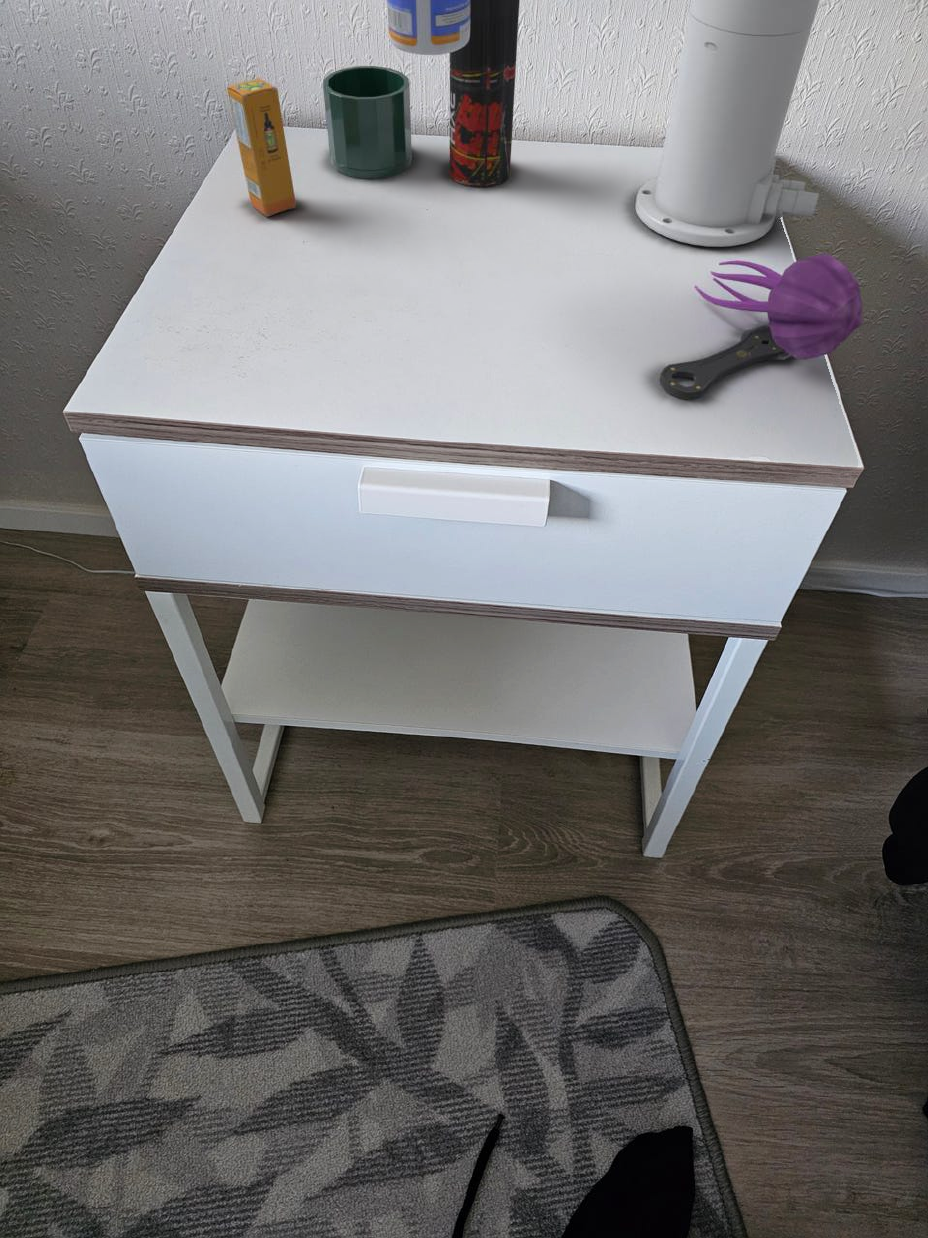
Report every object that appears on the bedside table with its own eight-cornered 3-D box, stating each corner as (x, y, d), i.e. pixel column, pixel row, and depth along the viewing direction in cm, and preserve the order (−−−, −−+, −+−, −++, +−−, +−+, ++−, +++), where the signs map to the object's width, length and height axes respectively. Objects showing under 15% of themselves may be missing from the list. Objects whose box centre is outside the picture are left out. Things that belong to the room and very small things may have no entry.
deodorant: (437, 169, 83) (435, -15, 71) (485, 154, 85) (491, -27, 73) (473, 192, 80) (478, 4, 68) (522, 176, 82) (534, -9, 71)
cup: (422, 149, 86) (421, 72, 80) (394, 184, 81) (390, 103, 75) (350, 138, 87) (343, 61, 82) (318, 171, 82) (308, 91, 77)
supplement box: (279, 194, 79) (261, 74, 71) (297, 208, 78) (280, 87, 70) (247, 203, 78) (225, 82, 70) (265, 218, 76) (244, 96, 68)
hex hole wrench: (689, 400, 60) (687, 407, 60) (872, 316, 67) (869, 322, 67) (648, 369, 62) (646, 375, 62) (830, 290, 69) (827, 297, 69)
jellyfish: (724, 210, 66) (877, 243, 55) (749, 280, 71) (895, 323, 60) (661, 268, 66) (802, 313, 55) (690, 334, 71) (825, 388, 60)
